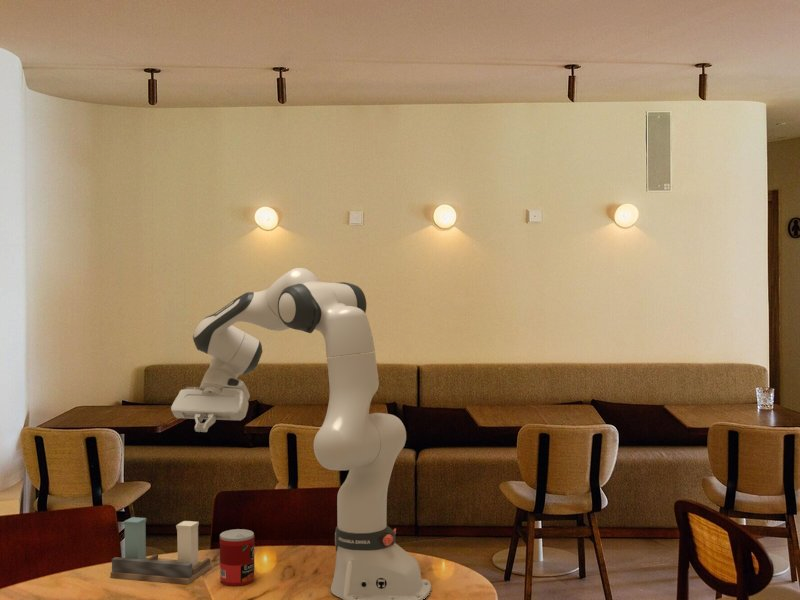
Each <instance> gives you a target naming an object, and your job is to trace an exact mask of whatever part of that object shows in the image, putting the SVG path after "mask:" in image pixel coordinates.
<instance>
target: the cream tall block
mask: <svg viewBox="0 0 800 600" xmlns="http://www.w3.org/2000/svg"><path fill="white" fill-rule="evenodd" d="M199 524H200V523H199V521H191V520H183V521H181V522H179V523H178V524H176V525H175V527H176V528H175V529H176V532H177V534H176V535H177V536H176V537H177V540H176V541H177V543H176V544H177V560H178V562H182V563H192V568H194V567H195V566H197V565H198V562H199V526H200V525H199Z"/></svg>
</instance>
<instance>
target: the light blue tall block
mask: <svg viewBox="0 0 800 600" xmlns="http://www.w3.org/2000/svg"><path fill="white" fill-rule="evenodd" d="M146 522H147V517H138V516H137V517H135V516H132V517H130V518H128V519H125V520H124V521H123V525H124V558H133V559H145V560H146V557H147V548H146V547H147V546H146V545H147V544H146V543H147V542H146V538H147V536H146V535H147V534H146V529H147V528H146Z"/></svg>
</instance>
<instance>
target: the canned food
mask: <svg viewBox="0 0 800 600" xmlns="http://www.w3.org/2000/svg"><path fill="white" fill-rule="evenodd" d="M219 579H220V582H221V584H223V585H226V586H229V587H241V586H242V587H243V586H246V585H249V584H251V583H252V582H254V579H255V533H254V532H253V531H252V530H249V529H246V528H245V529H244V528H242V529H240V528H236V529H234V528H233V529H229V530H228V529H227V530H225V531H222V532H221V533H220V534H219Z"/></svg>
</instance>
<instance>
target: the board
mask: <svg viewBox="0 0 800 600" xmlns="http://www.w3.org/2000/svg"><path fill="white" fill-rule="evenodd" d="M212 563H213V562H211V558H205V559H204V560H203V561H198V565H197V566H195V567H194V568H192V563H182V562H178V559H171V558H159V554H157V553H154V554H153V555H152V556H150V557H147V556H146V560H145V559H133V558H125V557H118V556H117V557H116V556H115V557H113V558H111V572H110V578H111V579H121V580H131V581H145V582H153V583H164V584H165V583H166V584H176V585H177V584H179V585H189V584H191V583H192V582H194V581H195V580H196V579H198V578H199V577H201V576H202V575H203V574H205V573H207V572H208V571H209V570H210V569H212V568H213V565H212Z"/></svg>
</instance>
